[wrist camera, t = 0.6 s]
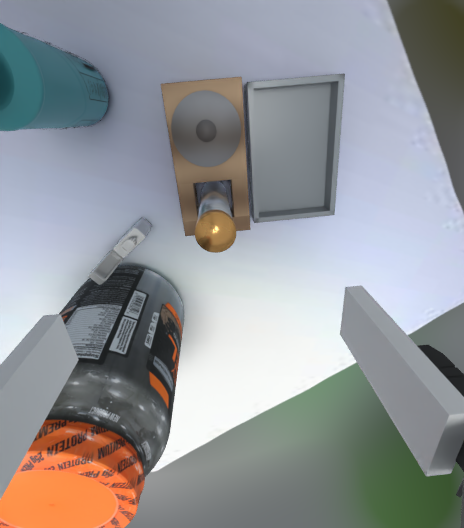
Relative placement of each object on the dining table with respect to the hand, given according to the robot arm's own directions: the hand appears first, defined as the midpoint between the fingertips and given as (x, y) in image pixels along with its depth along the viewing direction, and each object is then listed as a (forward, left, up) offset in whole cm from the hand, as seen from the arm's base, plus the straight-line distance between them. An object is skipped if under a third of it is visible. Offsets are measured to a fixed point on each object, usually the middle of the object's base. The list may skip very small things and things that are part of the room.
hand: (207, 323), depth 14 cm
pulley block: (-4, +1, -27) cm, 27 cm away
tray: (-4, +10, -27) cm, 29 cm away
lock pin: (0, +1, -27) cm, 27 cm away
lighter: (+5, -11, -27) cm, 30 cm away
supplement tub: (+16, -13, -27) cm, 34 cm away
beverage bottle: (-12, -12, -27) cm, 32 cm away
